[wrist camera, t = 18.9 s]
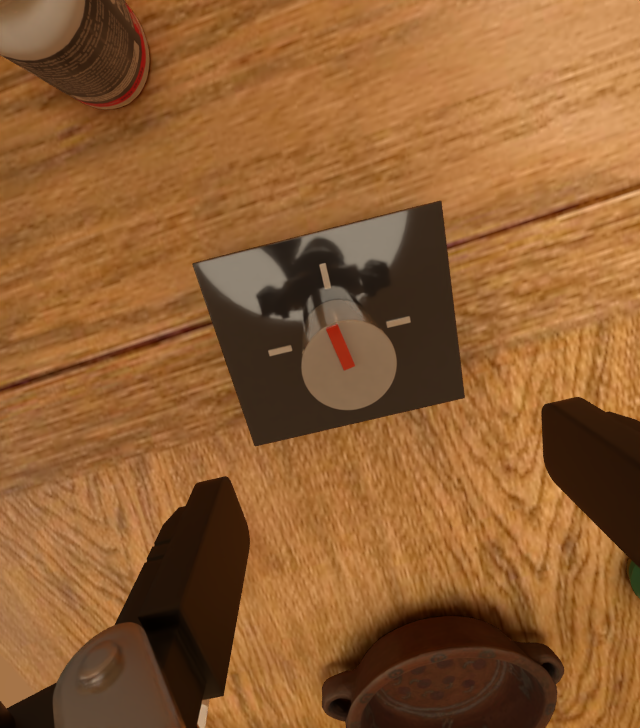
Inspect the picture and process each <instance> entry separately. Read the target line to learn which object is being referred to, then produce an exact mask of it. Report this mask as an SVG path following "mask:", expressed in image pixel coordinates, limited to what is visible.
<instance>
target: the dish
mask: <svg viewBox="0 0 640 728" xmlns="http://www.w3.org/2000/svg"><path fill="white" fill-rule="evenodd" d="M563 674H564V667H563V665H562V663H561V661H560V659H559V658H558V657H557V656H556V655H555V653H554V652H553V651H552V650H551V649H550V648H549V647H548V646H546V645H544V644H540V643H520V642H515V641H512V640H510V639H509V638H508V637H507V636H506V635H505V634H504V633H503V632H501V631H500V630H499V629H498V628H496V627H495V626H493V625H491V624H489V623H486V622H484V621H481V620H478V619H473V618H468V617H460V616H442V617H435V618H428V619H422V620H418V621H415V622H412V623H409V624H407V625H404V626H402V627H400V628H398V629H395V630H394V631H392V632H390V633H388V634H387V635H385V636H383V637H382V638H381V639H379V640H378V641H377V642H376V643H375V644H374V645H373V646H372V647H371V648H370V649H369V651H368V652H367V653H366V654H365V656H364V657H363V659H362V661H361V663H360V664H359V665H358V667H357V668H355V669H353V670H350V671H345V672H342V673H339V674H337V675H334V676H332V677H330V678H329V679H327V680H326V681H325V682H324V684H323V687H322V708H323V709H324V711H325V713H326V714H327V715H329V716H331V717H332V718H335V719H337V720H340V721H345V723H346V728H545V727H546V726H547V724H548V722H549V721H550V719H551V717H552V714H553V712H554V710H555V706H556V700H557V687H556V684H557V683H558V682H559V681H560V680H561V678H562V676H563Z"/></svg>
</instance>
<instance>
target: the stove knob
mask: <svg viewBox="0 0 640 728" xmlns="http://www.w3.org/2000/svg"><path fill="white" fill-rule="evenodd" d="M396 368H397V358H396V353H395V349H394V347H393V345H392V342H391V341H390V339H389V338H388V337H387V335H386V334H385V333H384V332H383V330H382V329H381V328H380V327H379V325H378V324H377V323H376V322H375V320H374V319H373V318H372V317H371V316H370V314H369V313H368V312H367V311H366V310H365V309H364V308H363V307H362V306H360V305H359V304H357V303H355V302H352V301H349V300H340V299H338V300H331V301H328V302H325V303H323V304H321V305H319V306H318V307H316V308H315V309H314V310H313V311H312V312H311V313H310V314H309V316H308V317H307V319H306V321H305V323H304V326H303V330H302V358H301V370H302V376H303V380H304V383H305V385H306V387H307V389H308V390H309V392H310V393H311V394H312V395H313V396H314V397H315V398H316V399H317V400H318V401H320V402H321V403H323V404H325V405H327V406H329V407H331V408H335V409H340V410H355V409H360V408H363V407H366V406H368V405H370V404H372V403H374V402H376V401H377V400H378V399H380V398H381V397H382V396H383V395H384V394H385V393H386V391H387V390H388V389H389V387H390V386H391V384H392V382H393V380H394V377H395V373H396Z"/></svg>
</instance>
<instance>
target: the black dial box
mask: <svg viewBox="0 0 640 728" xmlns="http://www.w3.org/2000/svg"><path fill="white" fill-rule="evenodd" d="M193 267H194V270H195V273H196V276H197V279H198V282H199V285H200V288H201V291H202V294H203V297H204V300H205V303H206V305H207V308H208V311H209V314H210V317H211V320H212V323H213V326H214V329H215V332H216V335H217V338H218V341H219V343H220V346H221V349H222V352H223V355H224V358H225V361H226V364H227V367H228V370H229V373H230V376H231V379H232V381H233V384H234V387H235V390H236V393H237V396H238V399H239V402H240V405H241V408H242V411H243V414H244V416H245V419H246V422H247V425H248V428H249V431H250V434H251V437H252V440H253V443H254V446H259V445H264V444H268V443H272V442H276V441H281V440H285V439H289V438H294V437H298V436H302V435H307V434H311V433H315V432H320V431H324V430H328V429H333V428H337V427H341V426H346V425H350V424H354V423H359V422H363V421H367V420H372V419H376V418H380V417H385V416H389V415H393V414H398V413H402V412H406V411H411V410H415V409H419V408H423V407H428V406H432V405H436V404H441V403H445V402H449V401H454V400H458V399H462V398H465V395H464V387H463V378H462V370H461V362H460V353H459V345H458V336H457V328H456V320H455V311H454V303H453V294H452V286H451V277H450V269H449V261H448V252H447V244H446V235H445V227H444V218H443V210H442V202H441V201H437V202H432V203H428V204H424V205H420V206H416V207H412V208H408V209H404V210H400V211H396V212H392V213H388V214H384V215H381V216H377V217H373V218H369V219H365V220H361V221H357V222H353V223H349V224H345V225H341V226H337V227H333V228H329V229H325V230H321V231H317V232H313V233H309V234H305V235H301V236H298V237H294V238H290V239H286V240H282V241H278V242H274V243H270V244H266V245H262V246H258V247H254V248H250V249H246V250H242V251H238V252H234V253H230V254H226V255H222V256H218V257H214V258H211V259H207V260H203V261H199V262H195V263H193ZM338 299H340V300H349V301H352V302H355V303H357V304H359V305H360V306H362V307H363V308H364V309H365V310H366V311H367V312H368V313H369V314H370V316H371V317H372V318H373V319H374V320H375V322H376V323H377V324H378V325H379V327H380V328H381V329H382V330H383V332H384V333H385V334H386V335H387V337H388V338H389V339H390V341H391V342H392V345H393V347H394V349H395V353H396V358H397V368H396V373H395V377H394V380H393V382H392V384H391V386H390V387H389V389H388V390H387V391H386V393H385V394H384V395H383V396H382V397H381V398H380V399H378V400H377V401H376V402H374V403H372V404H370V405H368V406H366V407H363V408H360V409H355V410H340V409H335V408H331V407H329V406H327V405H325V404H323V403H321V402H320V401H318V400H317V399H316V398H315V397H314V396H313V395H312V394H311V393H310V392H309V390H308V389H307V387H306V385H305V383H304V380H303V376H302V370H301V358H302V330H303V326H304V323H305V321H306V319H307V317H308V316H309V314H310V313H311V312H312V311H313V310H314V309H315V308H316V307H318V306H319V305H321V304H323V303H325V302H328V301H331V300H338Z"/></svg>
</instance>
